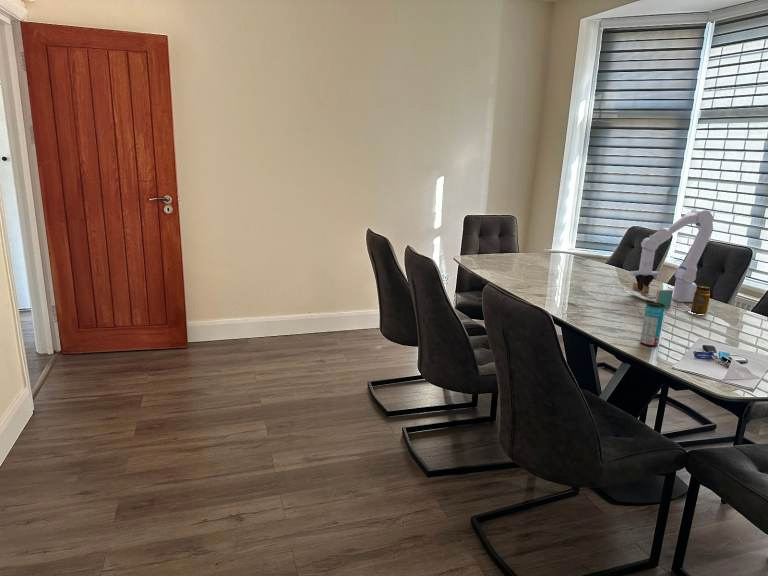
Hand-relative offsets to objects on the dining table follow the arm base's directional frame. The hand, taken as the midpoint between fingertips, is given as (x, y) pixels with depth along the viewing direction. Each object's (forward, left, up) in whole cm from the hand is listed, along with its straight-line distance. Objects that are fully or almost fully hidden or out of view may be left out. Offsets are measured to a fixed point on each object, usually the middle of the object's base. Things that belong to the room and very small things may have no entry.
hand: (642, 290), depth 258 cm
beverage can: (+40, +66, -4) cm, 78 cm away
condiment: (-10, +26, -4) cm, 29 cm away
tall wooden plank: (0, +2, -2) cm, 3 cm away
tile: (0, +16, -4) cm, 17 cm away
